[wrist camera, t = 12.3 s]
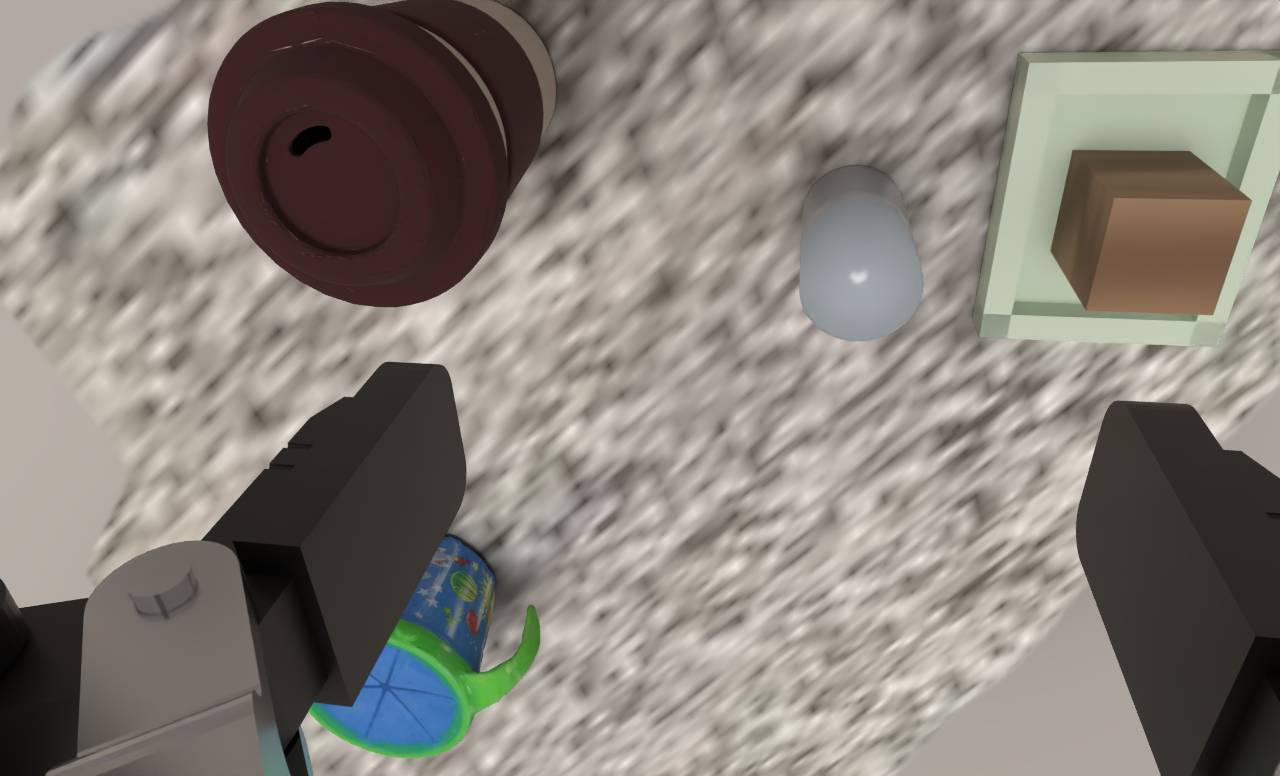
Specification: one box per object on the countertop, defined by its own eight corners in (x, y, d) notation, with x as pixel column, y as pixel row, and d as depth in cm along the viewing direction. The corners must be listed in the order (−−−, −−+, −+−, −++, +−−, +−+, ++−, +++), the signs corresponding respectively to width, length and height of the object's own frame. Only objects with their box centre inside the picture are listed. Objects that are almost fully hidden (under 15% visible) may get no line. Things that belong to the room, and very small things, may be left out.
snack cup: (553, 521, 53) (503, 650, 44) (565, 642, 58) (523, 777, 50) (316, 498, 55) (225, 616, 47) (349, 616, 61) (273, 741, 52)
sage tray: (1019, 52, 35) (1029, 62, 33) (1292, 49, 33) (1317, 60, 32) (972, 317, 41) (978, 337, 40) (1200, 326, 40) (1218, 347, 38)
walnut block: (1072, 149, 36) (1114, 198, 31) (1189, 151, 35) (1252, 200, 30) (1050, 250, 38) (1085, 310, 33) (1160, 253, 38) (1213, 315, 33)
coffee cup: (579, 202, 42) (478, 353, 29) (383, 169, 43) (202, 302, 30) (596, -22, 36) (481, 44, 24) (371, -55, 37) (146, -7, 25)
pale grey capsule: (804, 164, 39) (802, 229, 32) (910, 165, 38) (931, 232, 31) (799, 259, 41) (796, 338, 35) (898, 262, 41) (915, 343, 34)
